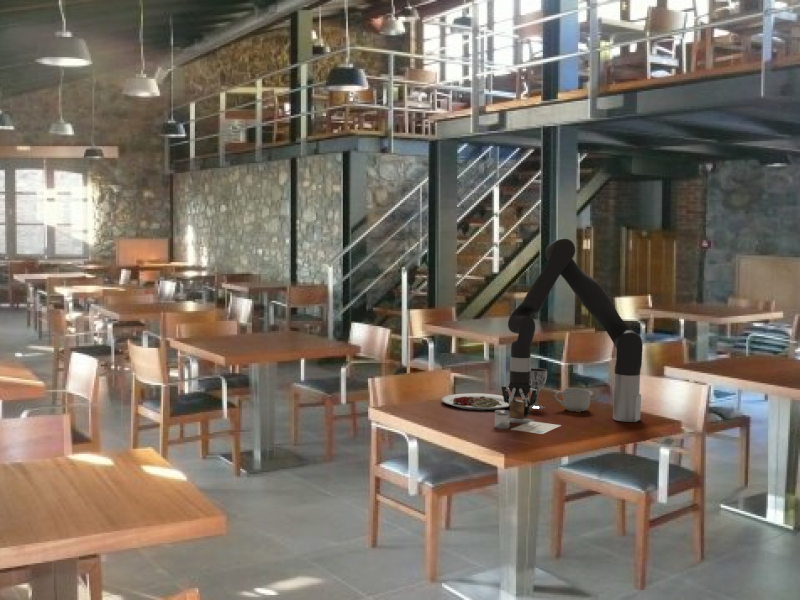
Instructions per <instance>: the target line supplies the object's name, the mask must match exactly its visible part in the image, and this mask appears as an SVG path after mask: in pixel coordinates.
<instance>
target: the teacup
mask: <svg viewBox="0 0 800 600" xmlns="http://www.w3.org/2000/svg"><path fill="white" fill-rule="evenodd" d="M591 393H592V391H590V390H588V389H585V388H580V387H578V388H577V387H567V388H563V389H562V390H558V391H556V392H555V393H554V398H555V400H556V402H558V403H560V404H561V405H562V406H563V407H564V408H566V410H567V411H569V412H573V411H576V413H582V412H581V411H583V412H585V411H586V410H587V409H589V408H590V404H591ZM558 395H561V396H562V400H561V399H559V398H558Z"/></svg>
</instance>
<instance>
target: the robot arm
mask: <svg viewBox="0 0 800 600" xmlns="http://www.w3.org/2000/svg"><path fill="white" fill-rule="evenodd" d="M544 251H545V253H544V254H545V257H546V260H547V263H546V265H545V266H544V268H543V269H542V271H541V273H539V275H538V276H537V278H536V279H535V280H534V281H533V283H532V284H531V286H530V287H529V289H528V291H527V293H526V295H525V296H524V298H523V301H522V302H521V303H520V304H519V305H518V306H517V307H516V309H514V311H513V312H512V313H511V315H510V317H509V318H508V321H507V327H508V330H509V331H510V332H511V333H513V334H518V336H517V339H516V340H514V341H512V342H511V344H510V345H511V346H510V360H509V384H508V385H503V386H501V392H502V396H503V398H504V402H505V403H508V404H509V407H508V411H510V402H511V401H513V400H517V397H518V398H521V400H523V402H524V405H525V407H524V417H527V416H528V417H529V415H530V409H531V408H530V406H531V405H534V404H535V401H536V397H537V398H538V396H537V394H538V395H539V392H538V389H533V388H531V386H530V376H531V368H532V367H531V366H532V364H531V363H532V362H531V346H532V343H533V340H534V336H535V332H536V323H535V320H534V318H533V317H532V316H533V315H535V314H538V313H539V312H540V311H541V310H542V308H543V306H544V304H545V302H546V300H547V299H548V297H549V294H550V292H551V291H552V289H553V287H554V286H555V283H556V281H557V280H558V278H559V277H560V276H561V277H562V278H563V279H564V280H565V282H566V283H567V284H568V286H569V287H570V288H571V290H572V291H573V293H574V294H575V296H576V297H577V299H579V301H580V303H581V304H582V305H583V306H584V307H585V309H586V310H587V311H588V313H589V315H591V316H592V317H593V318H594V319H595V321H597V323H599V324H600V325H601V326H602V327H603V329H604V330H605V332H606V333H607V335H608V336H609V339H611V342H612V343H613V345H614V347H615V348H616V357H615V359H616V361H615V365H614V378H613V379H614V381H613V405H612V406H613V407H612V408H613V409H612V410H613V411H612V412H613V413H612V419H613V420H614V421H618V422H624V423H625V422H628V423H637V422H638V421H640V420H641V413H642V412H641V408H642V395H641V393H640V388H641V387H640V385H641V370H642V366H643V365H642V364H643V362H642V361H643V351H644V349H643V340H642V338H641V336H640V335H639V334H638V333H637V332H635V331H634V330H633V329H632V328H631V327H630V326H629V325H628V324H627V323H626V322H625V321H624V319H623V318H622V317H621V316H620V315H619V312H618V311H617V309H616V307H615V305H614V303H613V302H612V300H611V298H610V296H608V294H607V292H606V290H604V288H603V287H602V285H601V284H600V283H599V282H598V281H596V280H595V279H594V278H593V277H592V276H590V275H589V274H587V273H586V272H585V271H584V270H583V269H582V268H580V266H578V264H577V263H576V261H575V260H574V257H575V254H576V245H575V244H574V242H573V241H572V240H571V239H569V238H566V237H565V238H564V237H563V238H561V237H560V238H558V239H556V240H554V241H552V242H550V243H549V244H548V245H547V246H546V248H545V250H544ZM509 391H510V392H511V394H509ZM529 393H530V395H529ZM529 396H530V397H529ZM509 397H510V398H509Z"/></svg>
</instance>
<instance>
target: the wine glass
mask: <svg viewBox="0 0 800 600" xmlns="http://www.w3.org/2000/svg"><path fill="white" fill-rule="evenodd" d="M547 377H548V370H547V369H546V368H540V367H531V376H530V386H531V388H533V389H538V394H537V397H536V401H535V404H534V405H531V406H530V409H532V410H541V409H543V410H544V409H545V408H546V407H545V406H544V407H543V405H539V404H538V395H539V392H540V391H541V389H543V387H544V386H545V385H546V382H547Z"/></svg>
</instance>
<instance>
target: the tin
mask: <svg viewBox="0 0 800 600" xmlns="http://www.w3.org/2000/svg"><path fill="white" fill-rule="evenodd" d="M510 424H511V422H510V411H509V410H507V409H506V410H505V409H496V410H494V428H495V429H500V430H501V429H502V430H505V429H510V426H511V425H510Z"/></svg>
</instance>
